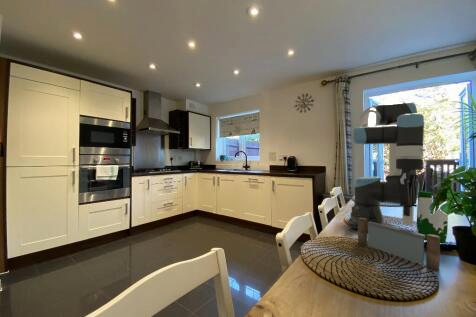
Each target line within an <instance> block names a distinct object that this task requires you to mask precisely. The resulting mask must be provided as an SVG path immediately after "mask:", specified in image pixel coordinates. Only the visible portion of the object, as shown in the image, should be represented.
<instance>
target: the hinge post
mask: <svg viewBox="0 0 476 317" xmlns="http://www.w3.org/2000/svg"><path fill="white" fill-rule="evenodd" d="M358 244H359V245H358ZM357 245H358V246H360V245H361V246H360V247H367V246H368V225H367V219H365V218H358V232H357Z"/></svg>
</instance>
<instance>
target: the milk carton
mask: <svg viewBox="0 0 476 317" xmlns="http://www.w3.org/2000/svg"><path fill="white" fill-rule="evenodd" d="M433 196H434V195H433V193H432V192H431V191H427V190H419V193H418V197H417V203H416V205H417V207H416V230H417V233H420V234H424V235H426V236H425V239H424V240H427V234H432V235H437V236H439V237H440V243H445V244H446V243H447V236H448V227H449V226H448V225H449V223H448V222H449V221H448V220H449V214H448V215H446V214H444V213H443V212H442V211H440V209H439V210H438V211H437V212H435V213H434V214H432V215H430V212H429V205H430V204H431V203H432V200H433Z"/></svg>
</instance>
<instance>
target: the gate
mask: <svg viewBox="0 0 476 317" xmlns="http://www.w3.org/2000/svg"><path fill="white" fill-rule="evenodd" d="M425 236H426V235H424V234H420V233H418V232H415V231H411V230H407V229H403V228H399V227H394V226H391V225H387V224H379V223H375V222H371V221H369V222H367V246H368V247H370V248H372V249H376V250H379V251H382V252H385V253H388V254H390V255H394V256H397V257H400V258H403V259H405V260H408V261H411V262H415V263H416V264H421V265H423V264H424V263H425V262H424V260H425V259H424V258H425V243H424V239H425Z"/></svg>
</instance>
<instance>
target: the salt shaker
mask: <svg viewBox="0 0 476 317" xmlns="http://www.w3.org/2000/svg"><path fill="white" fill-rule="evenodd" d="M351 212H352V213H351ZM351 212H350V215H351V219H350V220H348V221H347V223H348V226H349V227H348V229H347V230H349V231H350V232H354V233H358V218H359V208H358V207H357V206H356V205H355V206H354V205H353V206H352V207H351Z"/></svg>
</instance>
